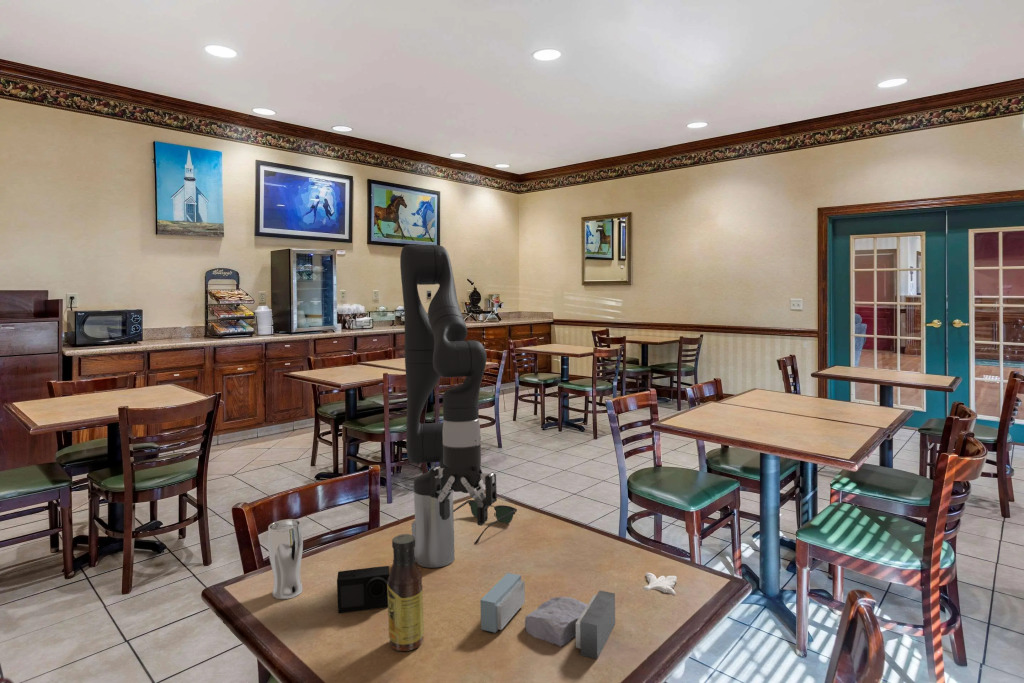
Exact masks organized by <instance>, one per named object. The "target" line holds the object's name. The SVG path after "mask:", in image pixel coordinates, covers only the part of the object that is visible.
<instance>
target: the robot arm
mask: <svg viewBox="0 0 1024 683" xmlns="http://www.w3.org/2000/svg"><path fill="white" fill-rule="evenodd" d="M399 259H400V260H399V262H400V279H401V289H402V291H401V292H402V300H403V312H404V313H403V316H404V317H403V318H404V366H405V368H404V369H405V379H406V380H405V381H406V431H405V432H406V438H405V441H406V442H405V447H406V454H407V455H406V456H407V460H409V462H411V463H413V464H423V463H438V464H437V466H435V467H433V468H430V470H429V471H428V472H425V473H422V474H420V475H418V476H417V477H416V478H415V479H414V482H413V496H414V497H413V499H414V501H413V502H414V520H413V521H411V535H413V536H414V537H415V547H414V556H415V563H416V564H417V565H418V566H421V567H423V568H432V569H433V568H434V569H435V568H442V567H446V566H448V565H450V564H452V563H453V562H454V560H455V522H454V520H455V519H454V516H455V515H454V512H453V510H454V492H455V493H459V492H461V493H464V494H469V495H470V497H471V499H472V500H475V501H476V503H477V505H478V506H479V507H477V517H476V518H477V520H476V521H477V522H476V523H477V526H481V527H482V526H483V525H485V523H486V522H487V521H488V519H489V518H488V517H489V516H488V515H489V514H488V509H489V508H488V506H490V505H494V503H495V502H497V499H498V497H497V493H498V492H497V474H496V473H495V472H494V471H492V472H490V473H487V472H483V470H482V469H481V465H482V453H481V452H482V450H481V448H482V447H481V446H482V444H481V440H482V439H481V438H482V437H481V426H480V417H479V396H480V390H481V385H482V381H483V378H484V374H485V370H486V367H487V366H486V365H487V359H488V358H487V351H486V348H485V346H484V345H483V344H482V343H481V342H480V341H478V340H472V339H471V340H466V338H467V336H468V328H467V324H466V322H465V319H464V316H463V313H462V311H461V308H460V305H459V301H458V298H457V297H458V296H457V292H456V290H457V288H456V284H455V277H454V273H453V267H452V263H451V258H450V255H449V253H448V250H447V249H446V248H445V247H444V246H442V245H438V244H405V245H404V246H403V247H402V248H401V251H400V257H399ZM418 285H420V286H421V285H423V286H424V285H425V286H426V285H439V287H438V289H437V290H436V292H435V294H434V296H433V297H432V299H431V301H430V302H429V304H428V308H427V311H426V309H425V308H424V305H423V303H422V301H421V298H420V293H419V290H418ZM441 377H442V378H458V377H459V378H460V377H465V379H464V381H463V382H462V384H461V385H458V386H456V387H453V388H449V389H447V390H445V392H443V395H442V417H443V420H442V422H431V423H430V422H429V423H428V422H427V423H421V422H420V420H421V416H422V412H423V409H424V408H425V405H426V404H427V403H426V402H427V401H428V398H430V395H431V393H432V392H433V390H434V389H435V387H436V385H437V384H438V383H439V381H440V379H441ZM481 480H482V482H483V483H482V484H483V485H484V487H485V488H483V486H482V484H481Z"/></svg>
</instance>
